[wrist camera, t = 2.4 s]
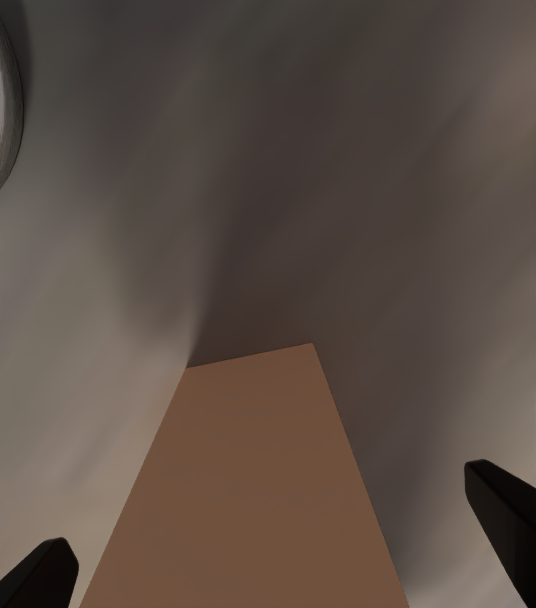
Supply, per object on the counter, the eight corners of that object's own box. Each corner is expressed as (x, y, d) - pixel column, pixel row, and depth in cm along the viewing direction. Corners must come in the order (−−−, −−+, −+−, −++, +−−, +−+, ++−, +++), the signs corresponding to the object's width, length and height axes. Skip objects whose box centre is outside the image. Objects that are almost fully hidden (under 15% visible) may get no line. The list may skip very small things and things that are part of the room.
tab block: (332, 447, 11) (486, 980, 4) (218, 469, 11) (132, 1021, 4) (312, 342, 10) (481, 806, 2) (185, 368, 10) (-42, 879, 3)
